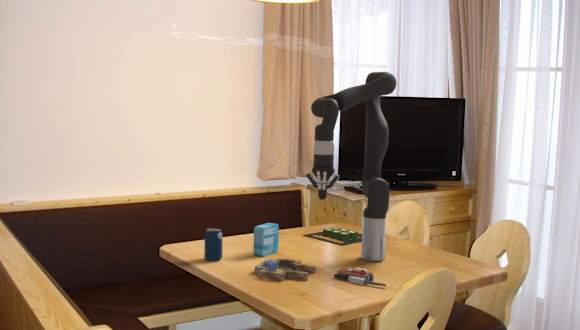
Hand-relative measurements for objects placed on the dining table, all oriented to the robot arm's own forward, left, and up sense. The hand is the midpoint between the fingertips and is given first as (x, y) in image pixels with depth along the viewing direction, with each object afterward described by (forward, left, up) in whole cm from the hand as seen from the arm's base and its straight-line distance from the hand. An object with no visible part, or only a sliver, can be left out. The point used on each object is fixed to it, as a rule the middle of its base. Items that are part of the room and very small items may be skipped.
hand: (322, 199), depth 221 cm
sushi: (+7, -58, -28) cm, 64 cm away
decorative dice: (+16, +10, -27) cm, 33 cm away
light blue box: (+27, -13, -27) cm, 40 cm away
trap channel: (+10, +10, -27) cm, 30 cm away
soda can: (+42, +5, -27) cm, 50 cm away
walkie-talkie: (-18, +8, -27) cm, 34 cm away
